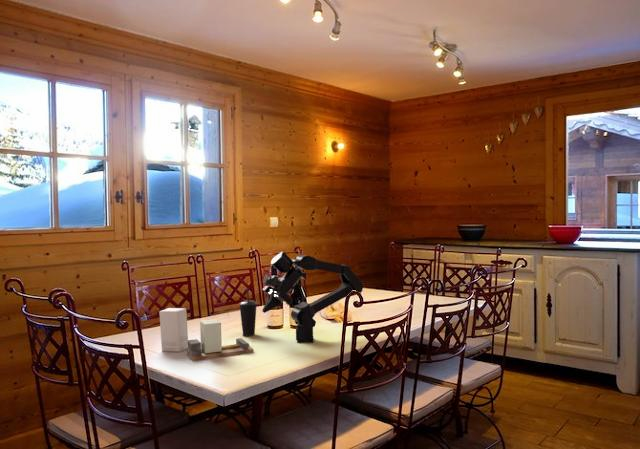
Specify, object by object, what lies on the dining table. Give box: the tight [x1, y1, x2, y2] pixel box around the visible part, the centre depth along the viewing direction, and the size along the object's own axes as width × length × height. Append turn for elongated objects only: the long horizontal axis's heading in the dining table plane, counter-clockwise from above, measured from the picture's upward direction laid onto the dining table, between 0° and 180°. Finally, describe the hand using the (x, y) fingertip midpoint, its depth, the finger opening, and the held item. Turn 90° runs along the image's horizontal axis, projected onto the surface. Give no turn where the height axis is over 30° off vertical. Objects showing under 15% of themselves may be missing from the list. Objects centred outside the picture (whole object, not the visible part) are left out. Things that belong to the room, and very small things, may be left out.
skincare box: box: [158, 307, 189, 353], centre depth 199 cm, size 8×7×16 cm
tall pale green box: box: [199, 318, 223, 353], centre depth 191 cm, size 6×7×10 cm
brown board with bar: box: [186, 337, 254, 362], centre depth 193 cm, size 22×10×6 cm, turn 116°
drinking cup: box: [238, 287, 258, 337], centre depth 219 cm, size 8×8×20 cm
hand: (263, 311), depth 200 cm, fingers closed
